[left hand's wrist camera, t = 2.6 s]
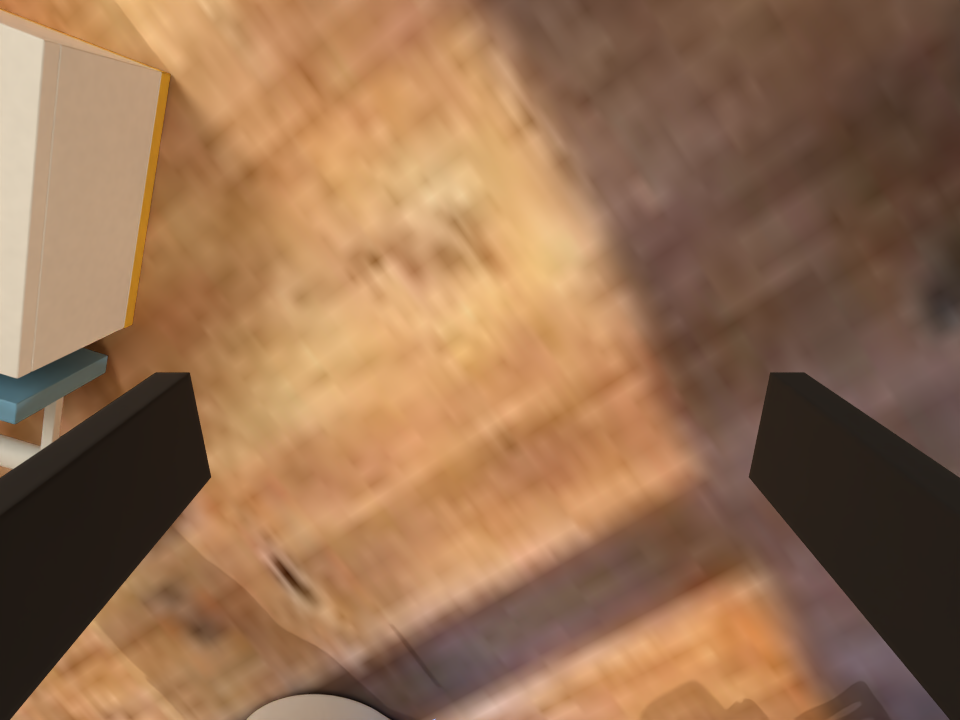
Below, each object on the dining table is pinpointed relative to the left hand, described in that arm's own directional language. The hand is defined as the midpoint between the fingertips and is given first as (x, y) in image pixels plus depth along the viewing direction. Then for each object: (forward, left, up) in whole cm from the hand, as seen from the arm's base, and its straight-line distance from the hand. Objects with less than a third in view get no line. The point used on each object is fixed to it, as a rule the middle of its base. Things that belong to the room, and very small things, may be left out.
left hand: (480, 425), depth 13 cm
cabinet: (-14, -20, -21) cm, 32 cm away
